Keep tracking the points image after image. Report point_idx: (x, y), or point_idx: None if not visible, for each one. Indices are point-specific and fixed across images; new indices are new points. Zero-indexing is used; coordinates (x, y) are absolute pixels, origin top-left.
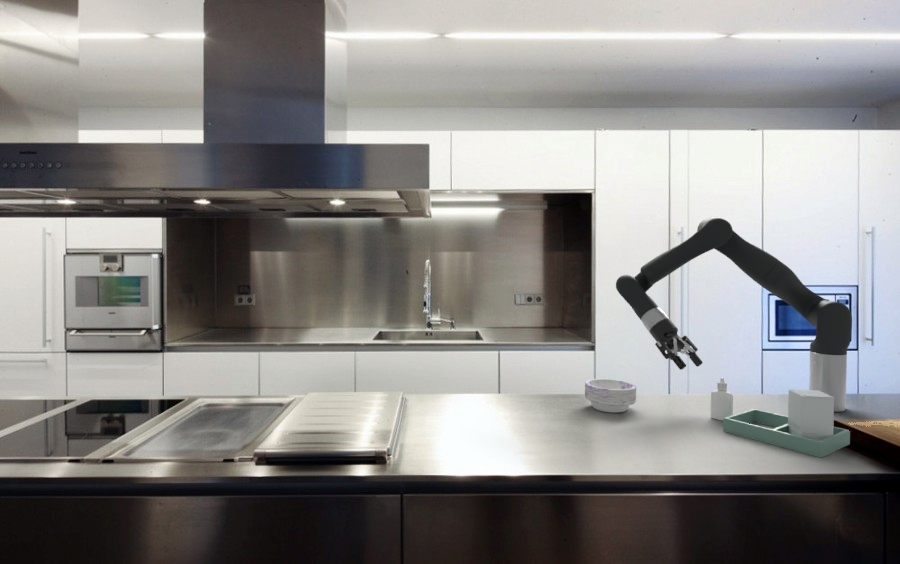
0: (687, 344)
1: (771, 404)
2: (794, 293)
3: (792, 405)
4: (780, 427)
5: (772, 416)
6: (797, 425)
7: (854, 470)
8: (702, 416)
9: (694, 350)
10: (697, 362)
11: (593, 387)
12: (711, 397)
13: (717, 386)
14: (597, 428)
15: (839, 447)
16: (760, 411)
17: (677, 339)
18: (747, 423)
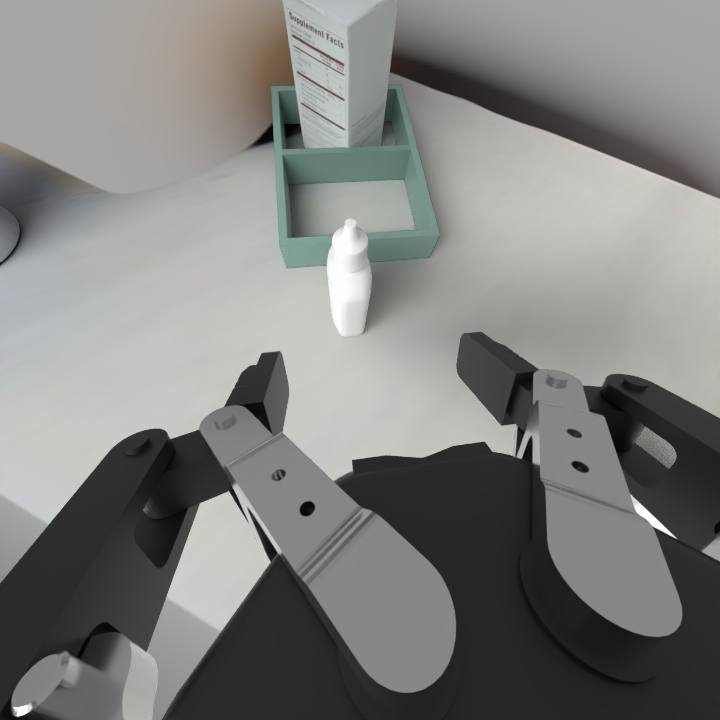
0: (268, 470)
1: (52, 336)
2: None
3: (367, 68)
4: (381, 147)
5: (286, 208)
6: (378, 107)
7: (403, 82)
8: (373, 351)
9: (224, 414)
10: (283, 381)
11: None
12: (368, 303)
13: (364, 260)
14: (716, 407)
15: None
16: (286, 227)
17: (446, 629)
18: (423, 189)
